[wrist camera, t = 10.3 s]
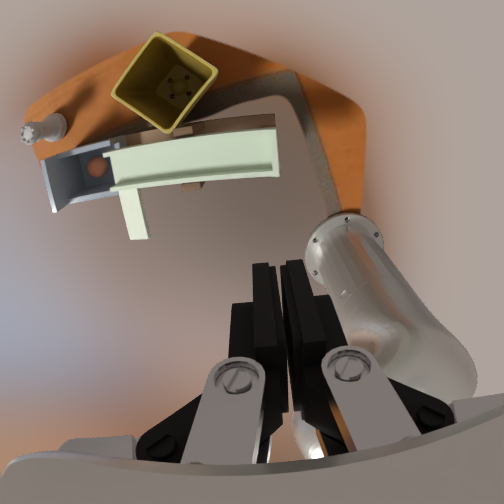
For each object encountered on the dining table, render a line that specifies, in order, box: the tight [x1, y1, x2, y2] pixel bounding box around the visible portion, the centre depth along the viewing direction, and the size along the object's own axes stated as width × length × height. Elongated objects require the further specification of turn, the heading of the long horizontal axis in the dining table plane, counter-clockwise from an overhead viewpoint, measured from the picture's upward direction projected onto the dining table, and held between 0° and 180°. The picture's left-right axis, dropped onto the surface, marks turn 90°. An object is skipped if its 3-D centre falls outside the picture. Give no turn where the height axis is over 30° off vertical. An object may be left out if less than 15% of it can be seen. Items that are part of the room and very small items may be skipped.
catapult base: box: [125, 114, 276, 192], centre depth 35 cm, size 7×20×10 cm, turn 96°
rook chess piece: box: [20, 113, 67, 145], centre depth 34 cm, size 4×4×8 cm
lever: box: [103, 127, 281, 240], centre depth 33 cm, size 11×19×3 cm, turn 96°
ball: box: [87, 156, 108, 178], centre depth 38 cm, size 3×3×3 cm
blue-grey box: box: [40, 134, 128, 213], centre depth 36 cm, size 7×9×9 cm
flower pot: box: [111, 31, 218, 134], centre depth 32 cm, size 9×9×9 cm
